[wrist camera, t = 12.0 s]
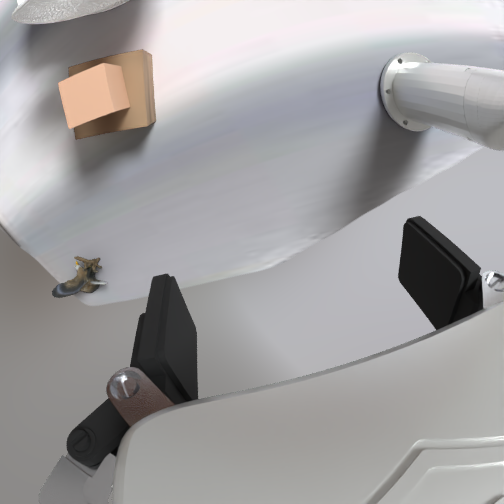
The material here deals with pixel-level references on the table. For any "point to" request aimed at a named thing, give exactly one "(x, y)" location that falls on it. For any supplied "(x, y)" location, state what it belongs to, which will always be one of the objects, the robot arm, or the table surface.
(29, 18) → the white toilet model
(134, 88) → the walnut block
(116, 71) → the peach block
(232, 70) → the table surface
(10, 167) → the table surface
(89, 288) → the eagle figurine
